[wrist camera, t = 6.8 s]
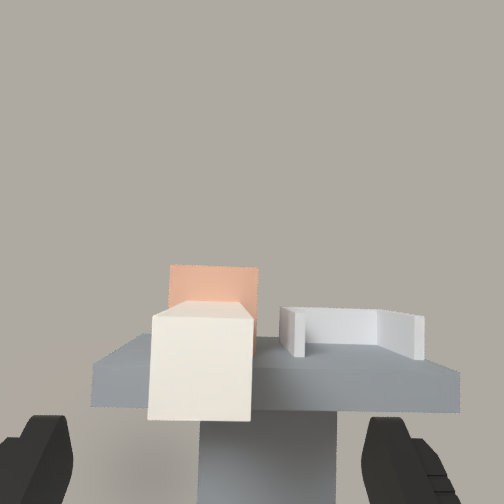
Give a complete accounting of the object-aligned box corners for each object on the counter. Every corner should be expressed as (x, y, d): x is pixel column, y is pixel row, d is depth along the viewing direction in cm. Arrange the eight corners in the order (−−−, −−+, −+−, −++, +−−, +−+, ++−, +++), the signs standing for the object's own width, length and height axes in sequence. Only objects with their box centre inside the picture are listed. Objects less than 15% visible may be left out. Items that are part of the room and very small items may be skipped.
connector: (112, 419, 13) (121, 247, 13) (175, 342, 30) (179, 267, 30) (284, 422, 13) (288, 253, 14) (250, 344, 30) (252, 270, 30)
